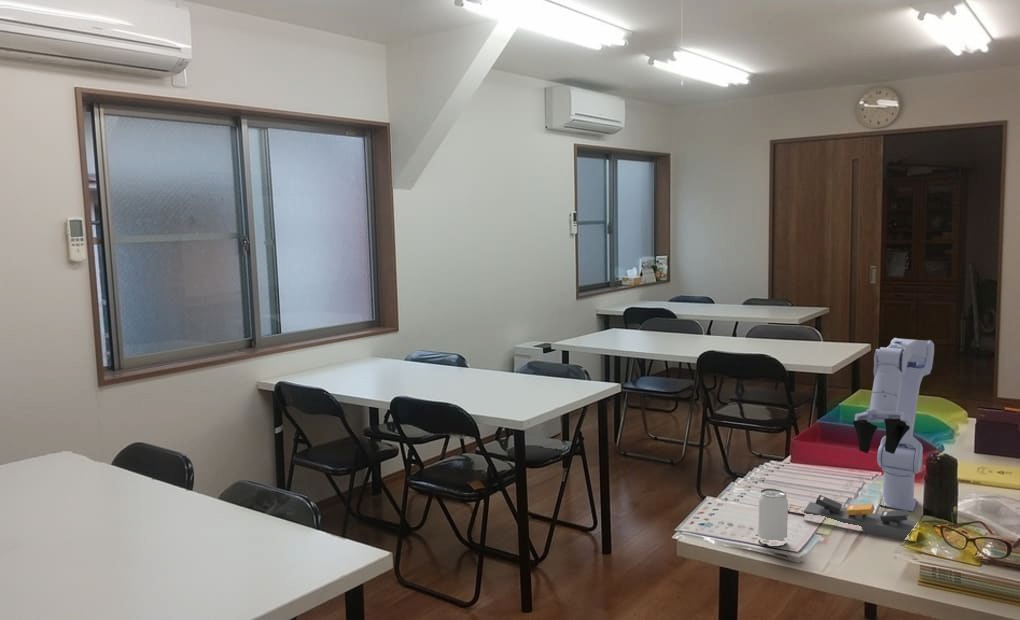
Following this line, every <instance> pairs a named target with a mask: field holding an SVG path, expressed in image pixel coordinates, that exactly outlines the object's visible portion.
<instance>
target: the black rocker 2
mask: <svg viewBox="0 0 1020 620" xmlns="http://www.w3.org/2000/svg"><path fill="white" fill-rule="evenodd" d="M880 515H881V516H880V518H881V521H893V522H897V521H904V520H909V511H908V510H888V511H887V510H885V511H883V510H882V511H881V513H880Z"/></svg>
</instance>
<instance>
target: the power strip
mask: <svg viewBox="0 0 1020 620" xmlns="http://www.w3.org/2000/svg"><path fill="white" fill-rule="evenodd" d="M815 503H816V502H813V501H809V502H808V504H807V506H806V507H805V508H804V510H803V511H804V513H806V514H813V515H821V516H825V517H827V518H831V519H834V520H837V521H840V522H843V523H848V524H853V525H859V526H861V527H862V529H863V531H864V532H863V533H865V532H866V533H865V534H870V535H871V534H872V535H875V536H880V537H881V536H882V537H885V538H891V539H895V540H896V539H897V540H899V541H900V540H901V541H905V540H904V539H905V538H906V537H907V535H908V534H909V533H910V532H911V530H912V529H913V528H914V526H915V525H916V523H917V522H918V521H917V520H911V519H907V520H904V521H897V522H893V521H881V518H880V516H881V514H877V513H874V512H873V513H872V514H863V515H862V516H860V515H847V511H846V510H847V508H848V507H847V508H845V507H841V510H840V511H839V513H836V512H834V511H832V510H828V509H824V507H822V506H820V505H818V504H815Z"/></svg>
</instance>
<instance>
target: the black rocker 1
mask: <svg viewBox="0 0 1020 620" xmlns="http://www.w3.org/2000/svg"><path fill="white" fill-rule="evenodd" d="M814 503H815V504H818V505H820V506H822V507H824V509H828V510H832V511H834V512H836V513H839V511H840V510H841V508H843V503H840V502H837V501H836V500H835V499H834V500H833V499H832V498H829V497H826V496H824V495H822V494H819V495H818V497H817V498H816V501H815V502H814Z"/></svg>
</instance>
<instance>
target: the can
mask: <svg viewBox="0 0 1020 620" xmlns="http://www.w3.org/2000/svg"><path fill="white" fill-rule="evenodd" d="M757 508H758V509H757V511H758V513H757V514H758V515H757V516H758V517H757V521H758V522H757V537H758V536H759V537H760V538H762V539H766V540H782V539H784V538H786V537H787V538H788V515H789V512H788V508H789V500H788V498H787V493H786V492H785V491H784V490H782V489H777V488H763V489H761V490H760V494H759V496H758V507H757Z"/></svg>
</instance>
